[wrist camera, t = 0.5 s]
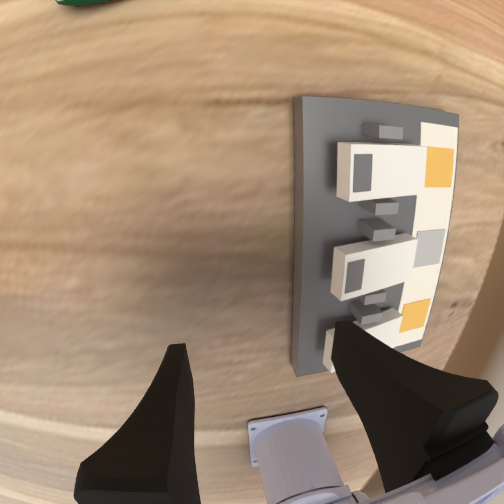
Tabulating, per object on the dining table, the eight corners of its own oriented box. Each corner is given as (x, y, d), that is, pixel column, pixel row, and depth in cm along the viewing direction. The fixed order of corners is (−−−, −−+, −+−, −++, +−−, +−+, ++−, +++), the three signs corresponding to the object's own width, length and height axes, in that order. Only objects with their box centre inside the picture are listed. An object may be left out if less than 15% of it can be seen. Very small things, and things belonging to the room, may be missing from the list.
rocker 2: (399, 272, 21) (411, 280, 20) (330, 291, 20) (341, 302, 19) (405, 232, 20) (418, 239, 19) (333, 247, 18) (346, 255, 17)
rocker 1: (410, 189, 19) (424, 194, 18) (336, 196, 17) (349, 202, 16) (413, 144, 18) (427, 147, 17) (337, 142, 16) (351, 144, 15)
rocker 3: (385, 338, 24) (395, 347, 23) (322, 362, 22) (331, 373, 21) (393, 307, 23) (403, 316, 22) (326, 330, 21) (336, 341, 20)
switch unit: (410, 335, 27) (431, 359, 24) (290, 362, 26) (303, 394, 22) (443, 112, 19) (478, 116, 16) (293, 97, 18) (315, 94, 14)
